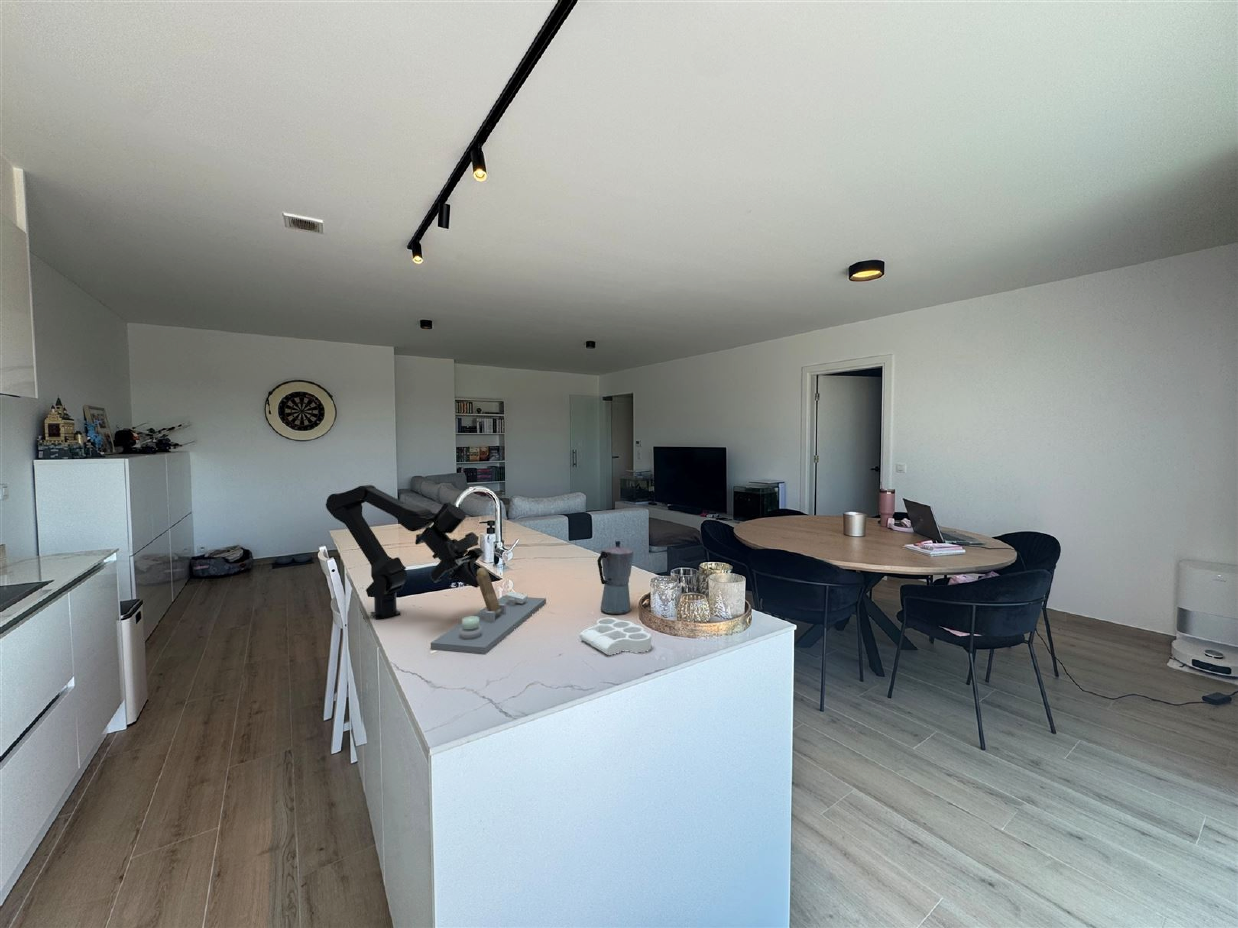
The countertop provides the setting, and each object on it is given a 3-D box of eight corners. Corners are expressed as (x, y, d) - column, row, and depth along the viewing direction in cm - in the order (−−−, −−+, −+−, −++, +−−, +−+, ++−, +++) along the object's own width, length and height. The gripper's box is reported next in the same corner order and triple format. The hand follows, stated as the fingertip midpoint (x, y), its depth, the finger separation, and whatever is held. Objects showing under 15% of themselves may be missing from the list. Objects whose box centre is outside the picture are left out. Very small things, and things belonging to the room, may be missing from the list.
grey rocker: (504, 599, 144) (505, 594, 144) (509, 595, 148) (510, 591, 148) (522, 603, 143) (522, 598, 143) (527, 599, 147) (527, 595, 147)
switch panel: (430, 648, 116) (430, 631, 116) (503, 600, 153) (503, 587, 153) (485, 653, 113) (484, 636, 113) (546, 603, 150) (545, 589, 150)
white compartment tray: (572, 639, 123) (620, 626, 131) (614, 663, 108) (665, 647, 117) (572, 625, 123) (620, 613, 131) (614, 648, 108) (664, 633, 117)
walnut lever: (488, 620, 131) (471, 571, 132) (496, 614, 135) (479, 567, 136) (496, 617, 130) (480, 568, 131) (504, 612, 135) (488, 564, 135)
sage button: (458, 628, 119) (458, 620, 119) (467, 622, 123) (467, 615, 123) (474, 629, 118) (473, 622, 118) (482, 623, 122) (482, 616, 122)
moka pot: (643, 606, 146) (642, 539, 146) (614, 621, 133) (614, 548, 133) (616, 601, 152) (615, 536, 151) (586, 615, 139) (585, 544, 138)
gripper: (439, 530, 125) (480, 575, 123) (476, 519, 144) (512, 558, 142) (413, 559, 127) (452, 604, 125) (452, 545, 146) (487, 584, 144)
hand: (478, 586), depth 134 cm, fingers closed
